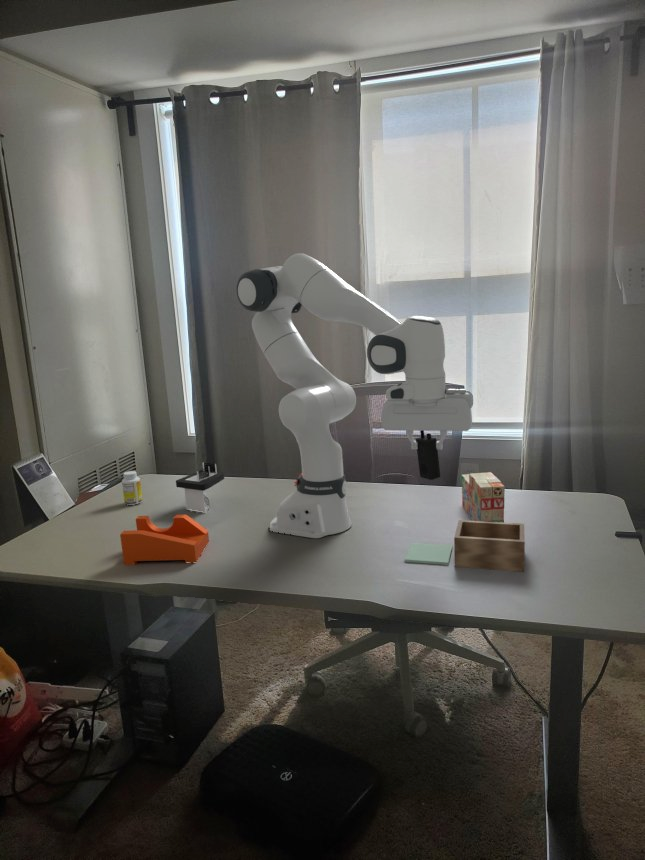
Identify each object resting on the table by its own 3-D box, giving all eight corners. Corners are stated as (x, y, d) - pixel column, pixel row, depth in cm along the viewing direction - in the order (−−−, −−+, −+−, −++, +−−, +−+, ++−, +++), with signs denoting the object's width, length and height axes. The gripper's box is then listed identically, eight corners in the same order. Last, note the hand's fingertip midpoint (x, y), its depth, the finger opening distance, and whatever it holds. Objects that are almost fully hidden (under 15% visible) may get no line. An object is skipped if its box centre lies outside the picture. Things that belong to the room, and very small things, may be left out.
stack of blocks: (461, 504, 180) (461, 464, 177) (483, 503, 180) (483, 462, 177) (480, 532, 159) (480, 486, 156) (504, 531, 159) (504, 485, 156)
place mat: (404, 561, 144) (404, 559, 144) (411, 544, 153) (411, 542, 153) (448, 565, 141) (448, 562, 141) (452, 547, 150) (452, 545, 150)
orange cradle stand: (124, 566, 151) (120, 534, 149) (142, 545, 163) (138, 515, 161) (196, 564, 150) (193, 532, 148) (209, 543, 162) (206, 513, 160)
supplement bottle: (139, 499, 201) (135, 469, 199) (145, 503, 197) (141, 472, 195) (122, 503, 198) (118, 472, 196) (128, 507, 193) (124, 476, 191)
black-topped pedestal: (209, 530, 171) (204, 484, 169) (141, 518, 184) (135, 475, 182) (266, 499, 195) (263, 459, 192) (203, 490, 208) (199, 452, 205)
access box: (454, 566, 140) (454, 537, 138) (458, 547, 150) (458, 520, 148) (524, 571, 135) (524, 541, 134) (523, 551, 145) (524, 523, 144)
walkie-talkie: (441, 477, 141) (435, 413, 138) (430, 480, 140) (422, 416, 137) (428, 473, 146) (422, 411, 143) (417, 477, 144) (410, 414, 141)
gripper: (474, 386, 138) (474, 446, 141) (384, 387, 144) (386, 445, 147) (472, 391, 132) (472, 453, 135) (378, 392, 139) (381, 451, 141)
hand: (426, 449), depth 141 cm, fingers closed on walkie-talkie, 4 cm apart
